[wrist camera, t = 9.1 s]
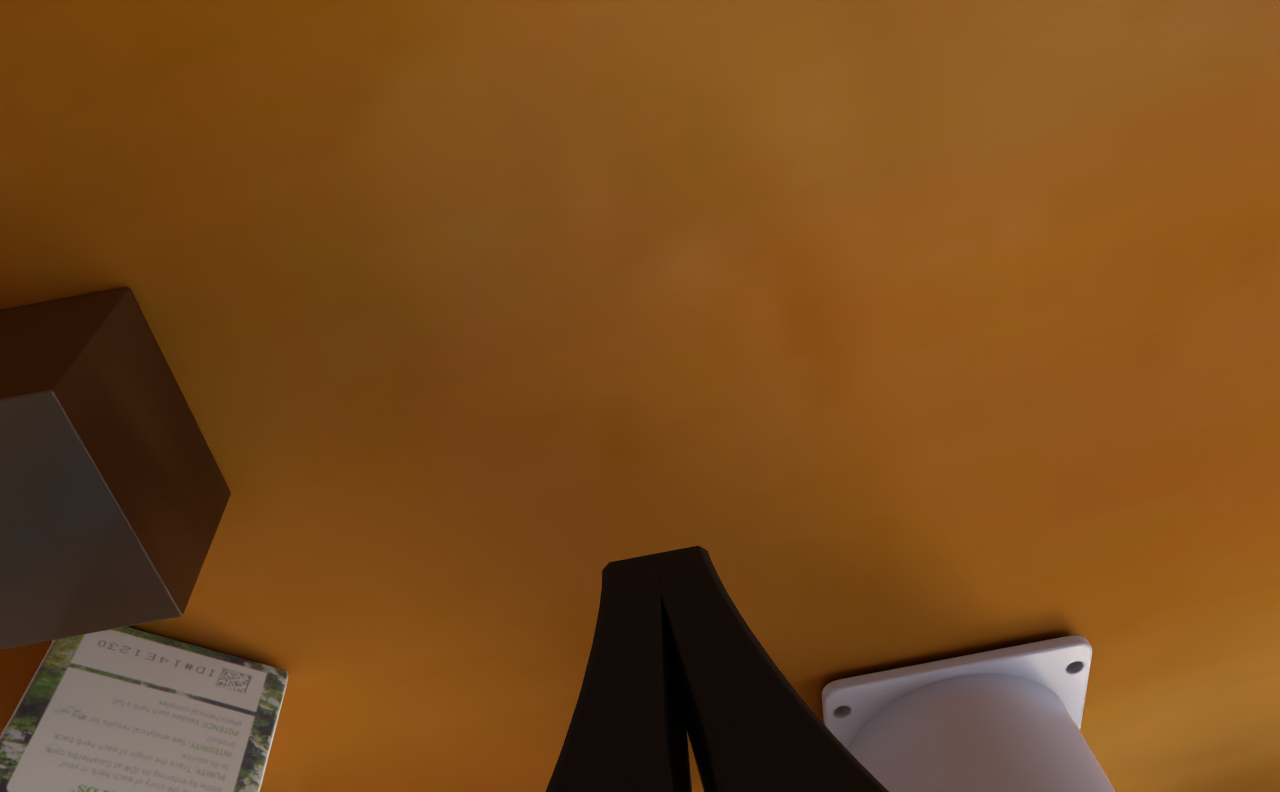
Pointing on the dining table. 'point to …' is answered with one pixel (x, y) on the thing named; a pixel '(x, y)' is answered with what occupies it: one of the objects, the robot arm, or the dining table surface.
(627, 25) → the dining table surface
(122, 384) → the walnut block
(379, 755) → the dining table surface
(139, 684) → the syrup box
